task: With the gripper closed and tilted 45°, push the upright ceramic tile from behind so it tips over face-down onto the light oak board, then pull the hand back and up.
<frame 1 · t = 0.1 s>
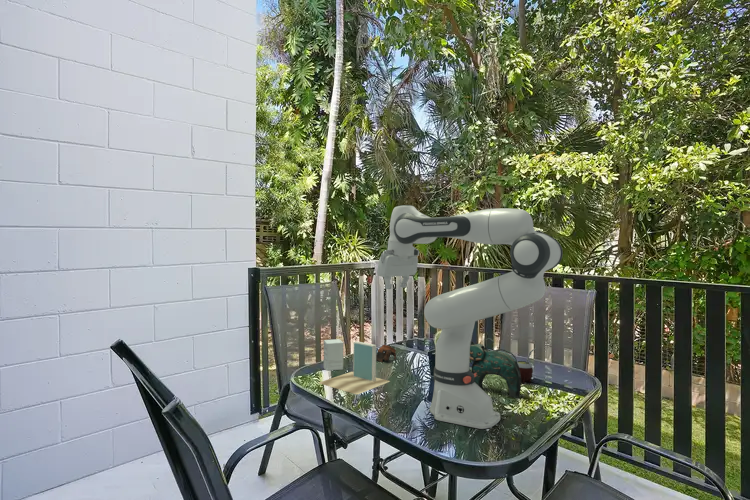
hand: (395, 288, 153), 39 cm above the table, tool pointing down, fingers open, 8 cm apart
ceramic cat: (493, 392, 160), on the table
brown animal figurine: (385, 360, 202), on the table
mate gourd: (524, 382, 171), on the table
board: (354, 384, 165), on the table
tile: (364, 378, 170), point 1 cm above the table, touching board
supplement box: (333, 370, 185), on the table
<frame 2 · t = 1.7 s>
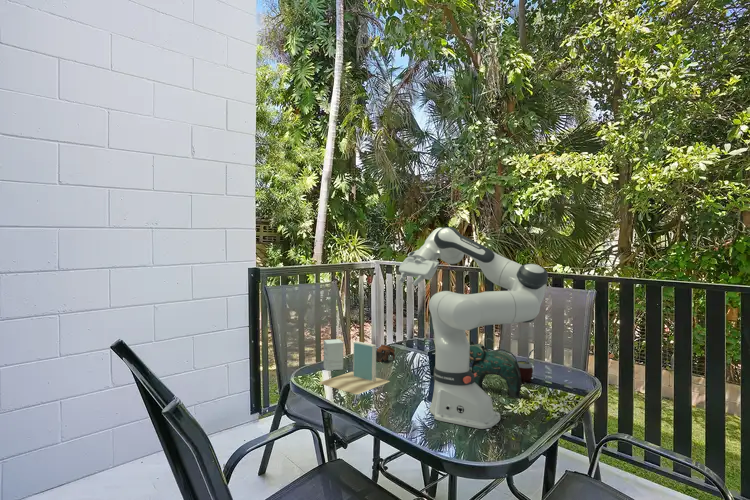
hand: (407, 283, 180), 38 cm above the table, tool tilted 40°, fingers open, 8 cm apart
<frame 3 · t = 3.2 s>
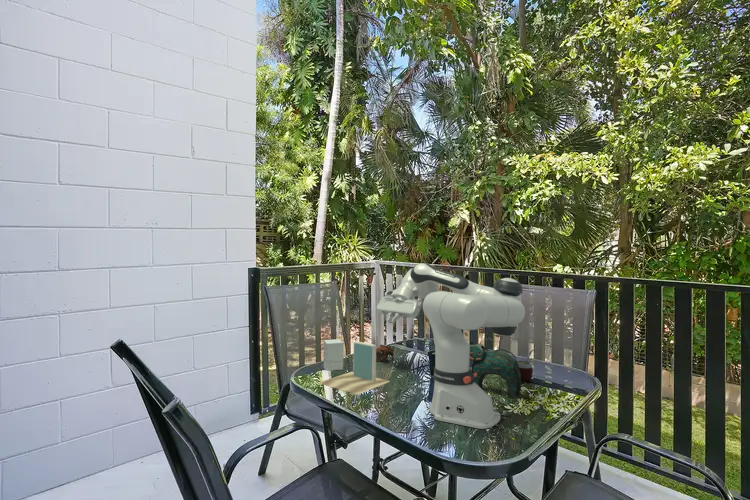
hand: (390, 322, 183), 21 cm above the table, tool tilted 45°, fingers closed
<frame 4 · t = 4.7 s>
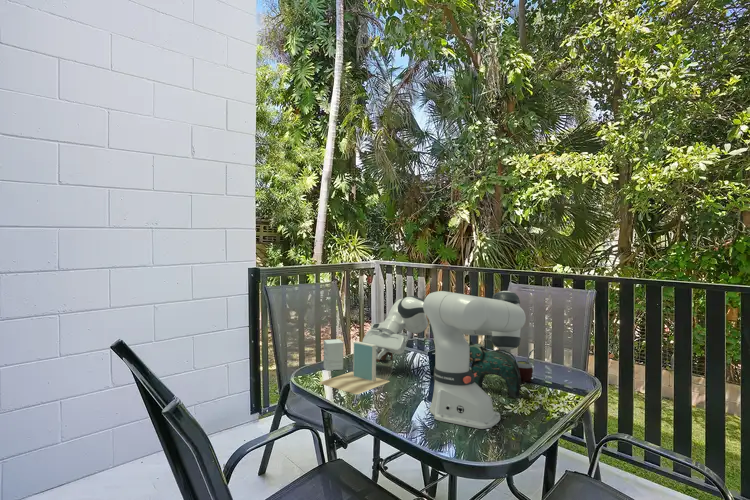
hand: (376, 358, 176), 8 cm above the table, tool tilted 45°, fingers closed
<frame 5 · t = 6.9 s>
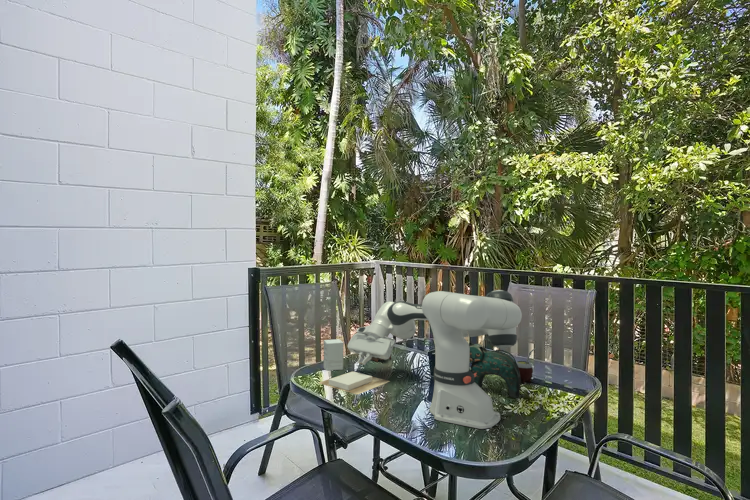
hand: (361, 363, 169), 7 cm above the table, tool tilted 45°, fingers closed
tile: (362, 376, 169), point 2 cm above the table, tilted 90°, touching board
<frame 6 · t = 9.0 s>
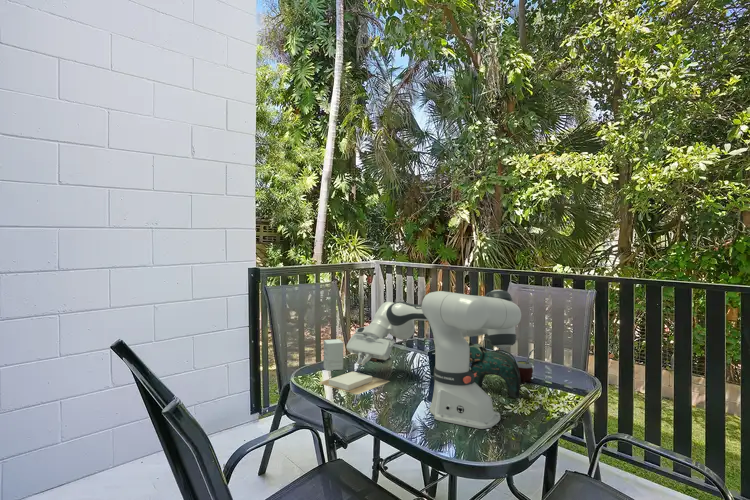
hand: (360, 364, 168), 7 cm above the table, tool tilted 45°, fingers closed
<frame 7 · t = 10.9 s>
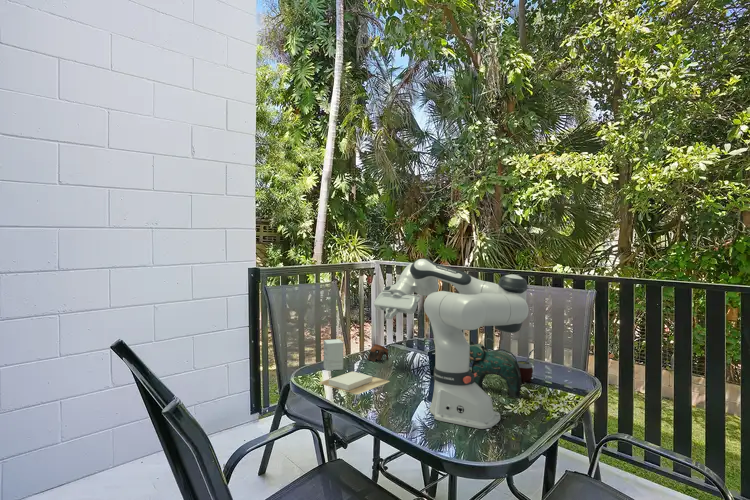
hand: (387, 318, 179), 24 cm above the table, tool tilted 45°, fingers closed
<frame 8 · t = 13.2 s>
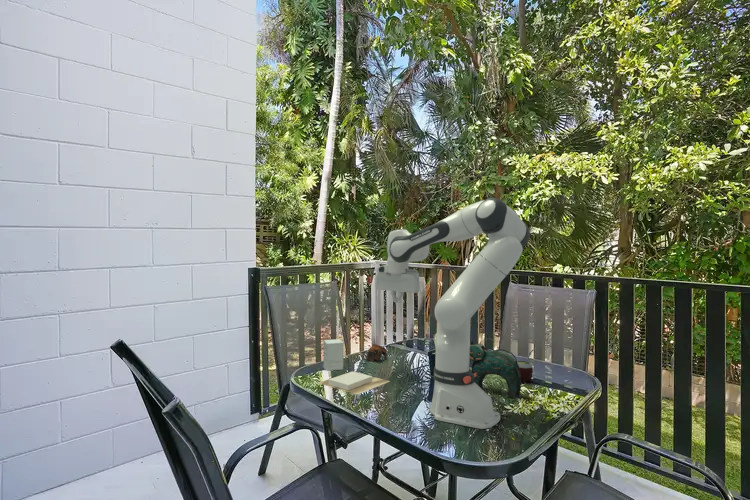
hand: (397, 302, 175), 31 cm above the table, tool pointing down, fingers closed
at the end: tile tilted 90°; tile inside the target area (1.3 cm from its centre), point 2.1 cm above the table; tile touching board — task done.
